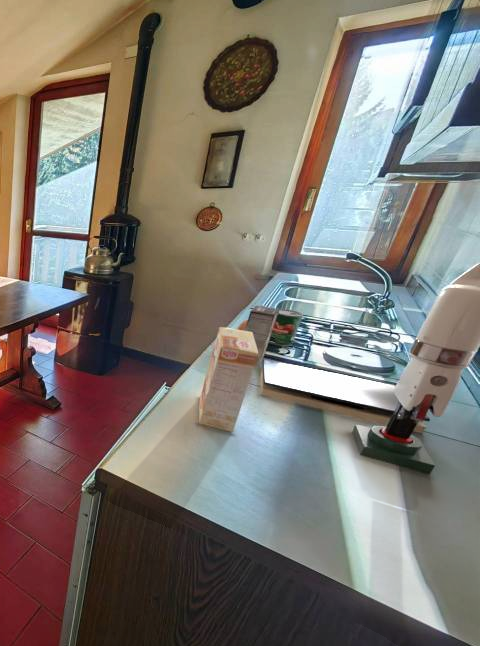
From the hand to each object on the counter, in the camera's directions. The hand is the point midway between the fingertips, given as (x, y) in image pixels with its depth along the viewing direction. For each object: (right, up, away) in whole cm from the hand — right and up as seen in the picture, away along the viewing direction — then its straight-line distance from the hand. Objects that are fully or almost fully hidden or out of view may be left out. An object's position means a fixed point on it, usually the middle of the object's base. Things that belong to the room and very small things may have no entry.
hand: (396, 434), depth 79 cm
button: (0, -2, +1) cm, 2 cm away
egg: (+8, +19, +56) cm, 60 cm away
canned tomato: (+22, +20, +58) cm, 65 cm away
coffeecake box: (-28, +2, +15) cm, 31 cm away
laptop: (+8, +5, +23) cm, 25 cm away
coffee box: (+3, +15, +46) cm, 48 cm away
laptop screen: (+8, +8, +23) cm, 25 cm away
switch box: (0, -4, +2) cm, 4 cm away
